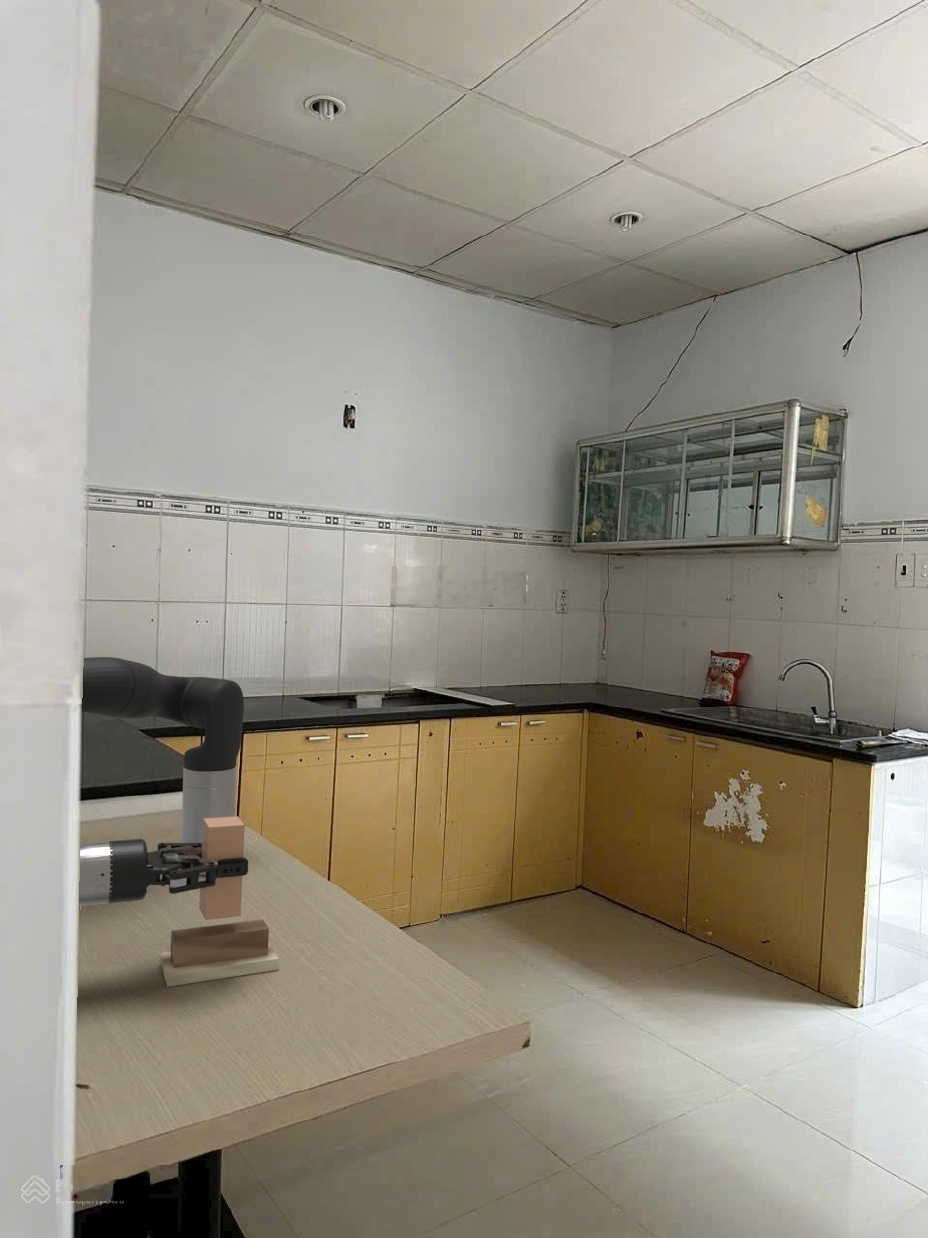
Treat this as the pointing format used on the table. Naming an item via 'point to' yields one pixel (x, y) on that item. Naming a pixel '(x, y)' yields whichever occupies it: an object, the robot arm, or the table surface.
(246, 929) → the stand
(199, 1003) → the table surface
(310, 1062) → the table surface
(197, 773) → the robot arm
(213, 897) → the block
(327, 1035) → the table surface
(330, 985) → the table surface
